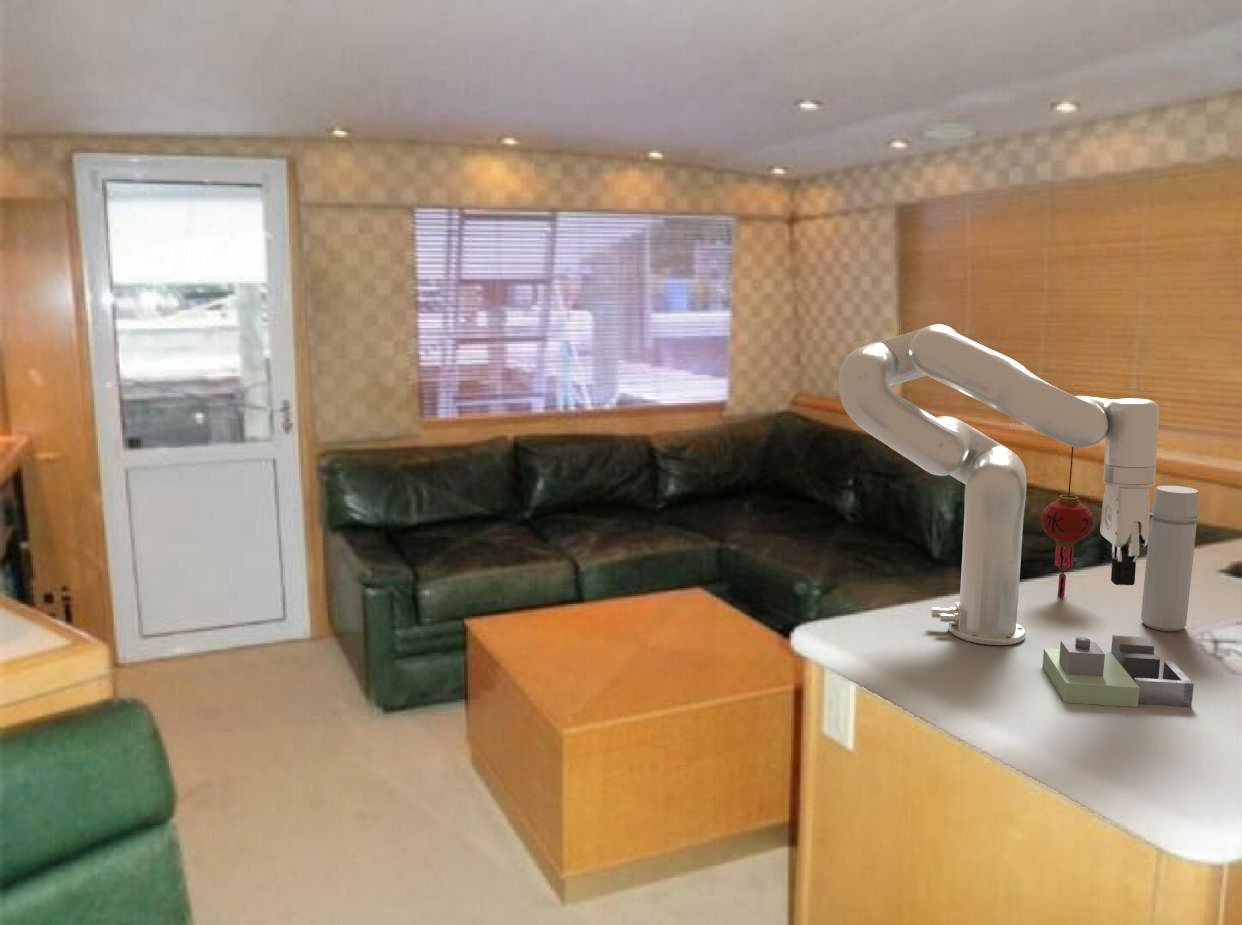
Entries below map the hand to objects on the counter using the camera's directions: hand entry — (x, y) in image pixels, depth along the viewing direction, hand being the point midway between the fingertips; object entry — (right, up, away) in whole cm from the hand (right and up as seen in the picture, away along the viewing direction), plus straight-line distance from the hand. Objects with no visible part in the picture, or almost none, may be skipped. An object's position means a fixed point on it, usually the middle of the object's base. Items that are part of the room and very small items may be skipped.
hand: (1122, 583), depth 164 cm
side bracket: (-4, -15, -15) cm, 22 cm away
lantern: (+3, -6, +30) cm, 31 cm away
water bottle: (+14, -9, +14) cm, 22 cm away
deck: (-12, -14, -13) cm, 22 cm away
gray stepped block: (-2, -13, -8) cm, 16 cm away
